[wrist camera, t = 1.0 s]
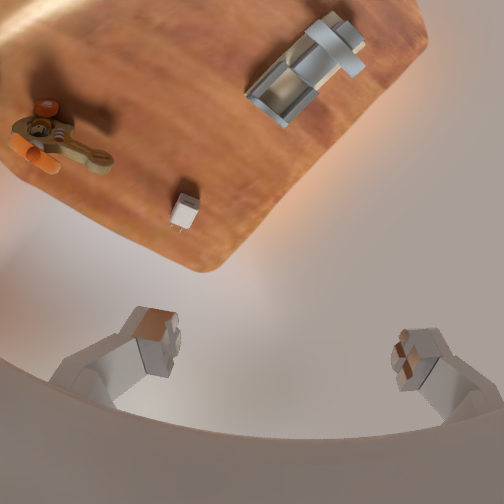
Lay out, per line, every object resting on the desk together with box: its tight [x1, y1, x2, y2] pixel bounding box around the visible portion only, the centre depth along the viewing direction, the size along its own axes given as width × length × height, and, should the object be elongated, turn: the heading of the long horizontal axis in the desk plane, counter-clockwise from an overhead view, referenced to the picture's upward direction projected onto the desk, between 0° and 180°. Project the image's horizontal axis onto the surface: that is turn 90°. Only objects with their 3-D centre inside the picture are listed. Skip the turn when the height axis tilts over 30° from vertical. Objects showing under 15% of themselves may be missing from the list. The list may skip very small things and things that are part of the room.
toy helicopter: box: [7, 99, 114, 174], centre depth 35 cm, size 8×21×14 cm, turn 56°
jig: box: [244, 11, 366, 128], centre depth 36 cm, size 10×21×6 cm, turn 139°
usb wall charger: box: [170, 193, 200, 233], centre depth 52 cm, size 4×7×4 cm, turn 149°
